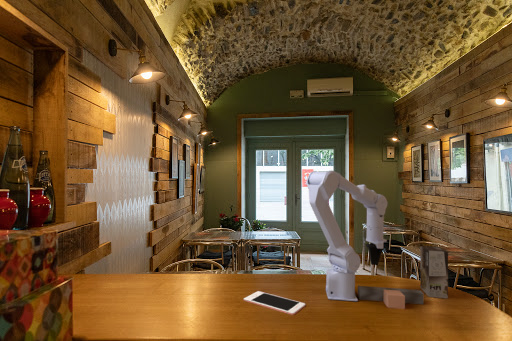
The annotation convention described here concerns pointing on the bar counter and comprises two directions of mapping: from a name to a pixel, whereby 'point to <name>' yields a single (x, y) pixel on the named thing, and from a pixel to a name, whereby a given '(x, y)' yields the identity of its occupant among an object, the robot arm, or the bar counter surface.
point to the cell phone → (275, 302)
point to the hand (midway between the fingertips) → (374, 264)
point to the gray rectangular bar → (377, 292)
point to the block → (394, 299)
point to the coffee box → (434, 271)
